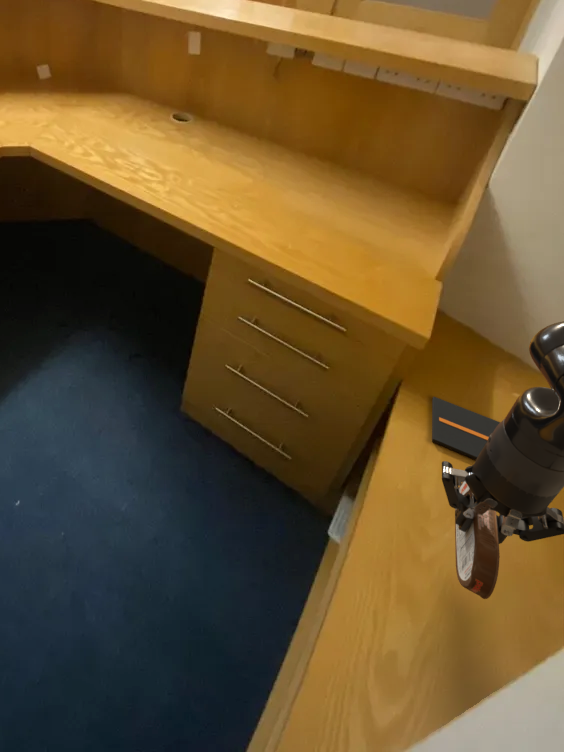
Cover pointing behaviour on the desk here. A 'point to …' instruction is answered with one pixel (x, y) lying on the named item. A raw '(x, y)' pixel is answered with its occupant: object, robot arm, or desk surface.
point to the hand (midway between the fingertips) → (475, 530)
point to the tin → (478, 552)
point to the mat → (460, 428)
